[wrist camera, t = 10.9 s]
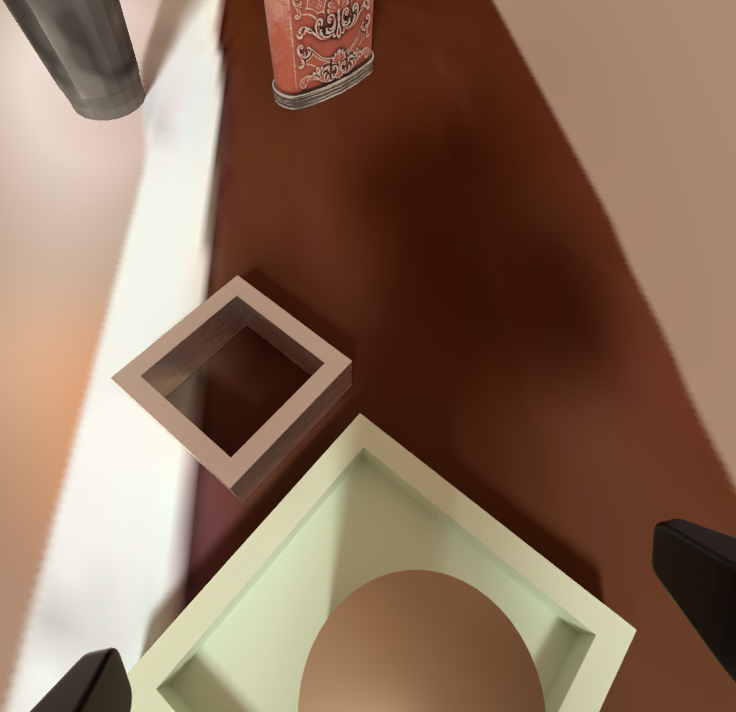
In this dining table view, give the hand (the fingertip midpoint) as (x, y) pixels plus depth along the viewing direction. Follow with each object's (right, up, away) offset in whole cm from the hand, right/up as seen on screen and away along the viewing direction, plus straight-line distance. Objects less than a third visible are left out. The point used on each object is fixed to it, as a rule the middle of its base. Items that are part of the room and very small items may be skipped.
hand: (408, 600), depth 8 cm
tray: (0, -7, +9) cm, 11 cm away
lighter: (-4, +23, +26) cm, 34 cm away
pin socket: (-6, +2, +14) cm, 15 cm away
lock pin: (0, -6, +9) cm, 11 cm away
